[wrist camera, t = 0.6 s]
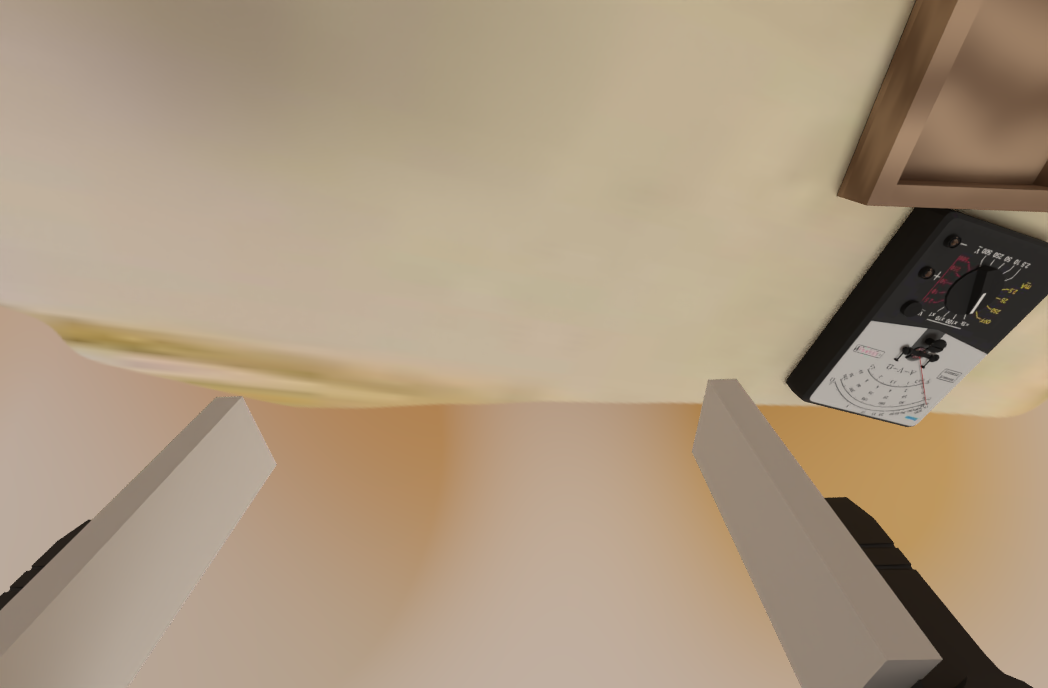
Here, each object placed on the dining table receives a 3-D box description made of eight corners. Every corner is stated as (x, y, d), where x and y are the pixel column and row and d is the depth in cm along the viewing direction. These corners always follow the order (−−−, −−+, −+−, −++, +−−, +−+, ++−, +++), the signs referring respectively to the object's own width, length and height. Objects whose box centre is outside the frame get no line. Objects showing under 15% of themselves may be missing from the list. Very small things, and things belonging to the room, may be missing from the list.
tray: (947, -76, 26) (1001, -98, 23) (1201, -64, 26) (1287, -84, 23) (837, 195, 34) (866, 205, 31) (1030, 203, 34) (1077, 213, 31)
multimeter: (1041, 241, 36) (1111, 261, 32) (886, 408, 46) (923, 440, 41) (915, 198, 34) (971, 213, 30) (780, 381, 44) (808, 412, 39)
